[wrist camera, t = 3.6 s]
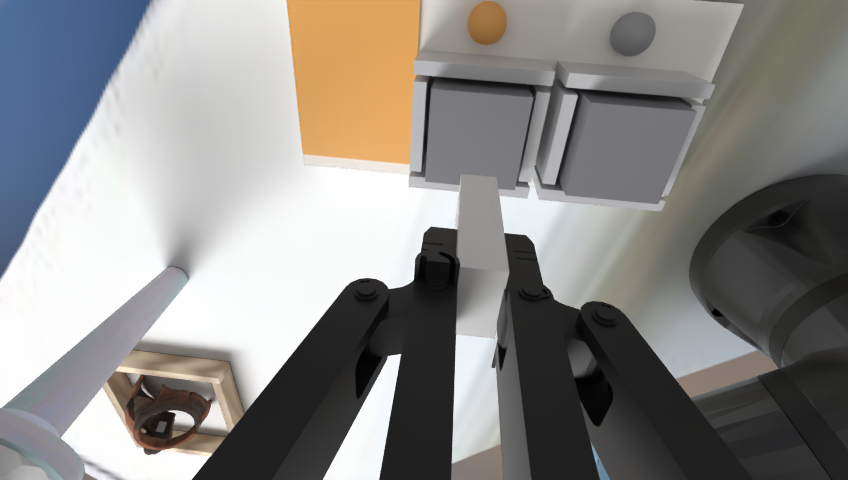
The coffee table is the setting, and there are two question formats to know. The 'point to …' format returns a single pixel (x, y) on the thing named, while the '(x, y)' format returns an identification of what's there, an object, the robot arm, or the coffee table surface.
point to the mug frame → (179, 369)
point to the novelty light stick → (76, 387)
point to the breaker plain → (623, 145)
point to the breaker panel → (491, 72)
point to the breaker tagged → (476, 130)
